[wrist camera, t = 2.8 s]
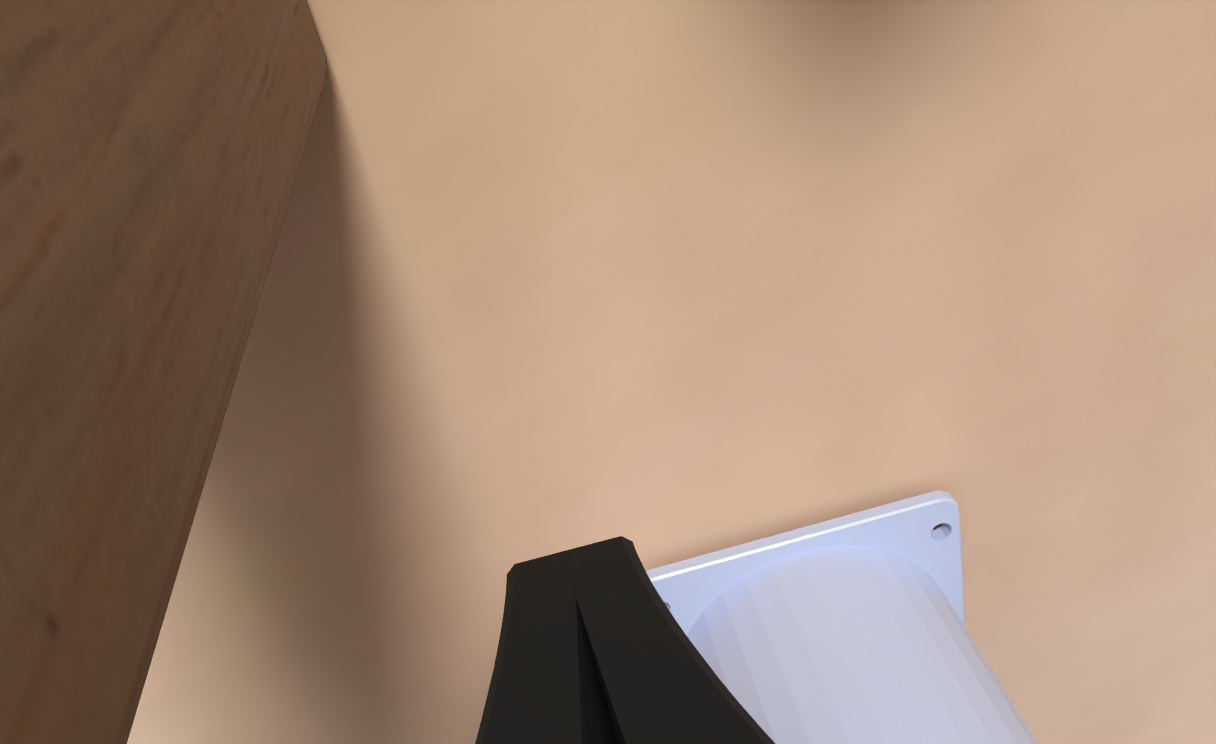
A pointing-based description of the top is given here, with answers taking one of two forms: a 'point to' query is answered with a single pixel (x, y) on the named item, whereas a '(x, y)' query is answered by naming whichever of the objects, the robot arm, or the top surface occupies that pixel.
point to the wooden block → (125, 316)
